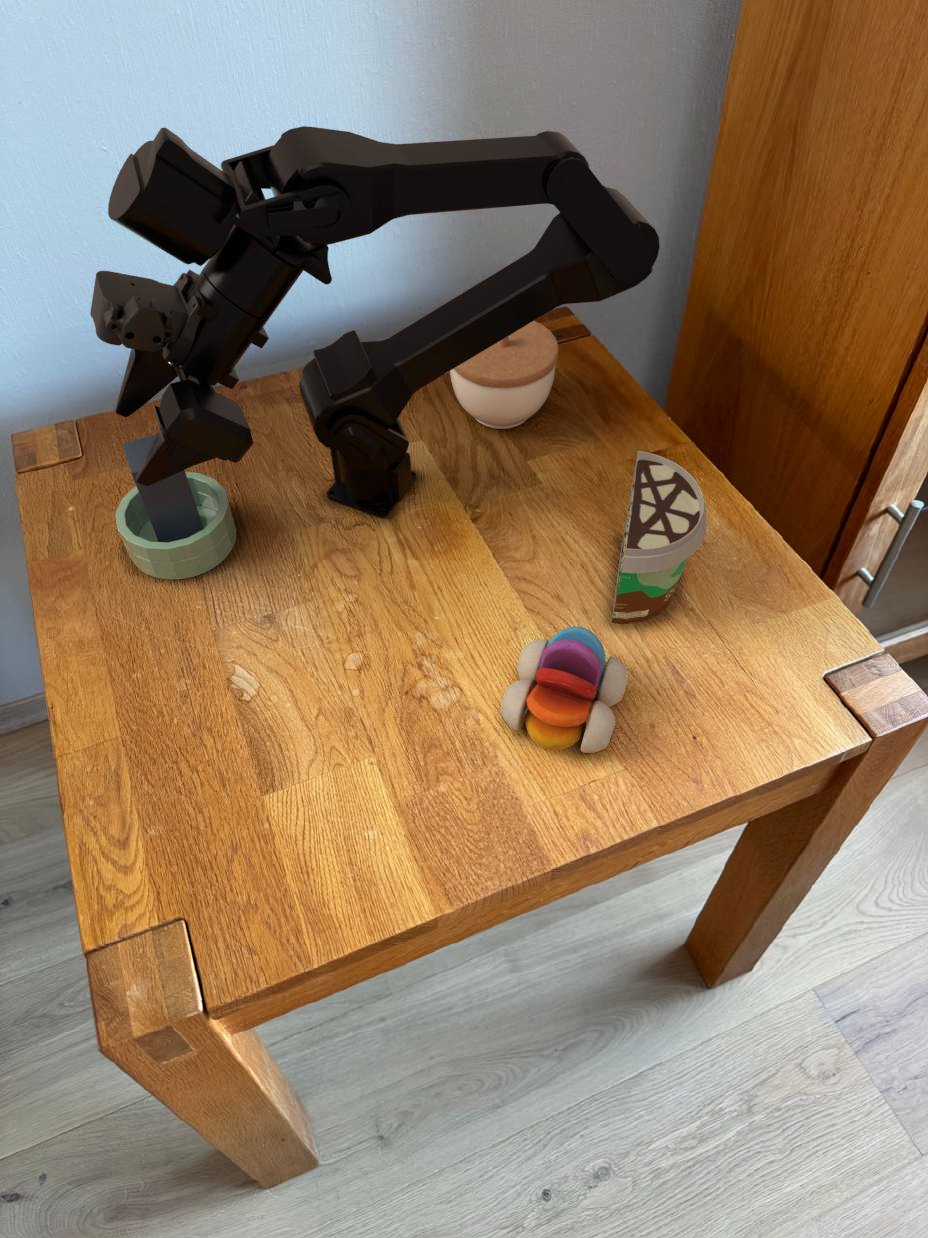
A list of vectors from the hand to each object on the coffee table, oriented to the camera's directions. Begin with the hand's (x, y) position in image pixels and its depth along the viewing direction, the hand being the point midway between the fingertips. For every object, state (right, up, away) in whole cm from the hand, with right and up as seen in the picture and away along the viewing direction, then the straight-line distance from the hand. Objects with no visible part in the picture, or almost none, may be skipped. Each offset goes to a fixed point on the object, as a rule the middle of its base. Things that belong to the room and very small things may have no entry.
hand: (130, 447), depth 74 cm
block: (+1, -6, +9) cm, 11 cm away
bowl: (+1, -7, +9) cm, 11 cm away
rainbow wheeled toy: (+35, -21, -2) cm, 41 cm away
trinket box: (+31, +8, +21) cm, 38 cm away
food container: (+43, -11, +5) cm, 45 cm away
